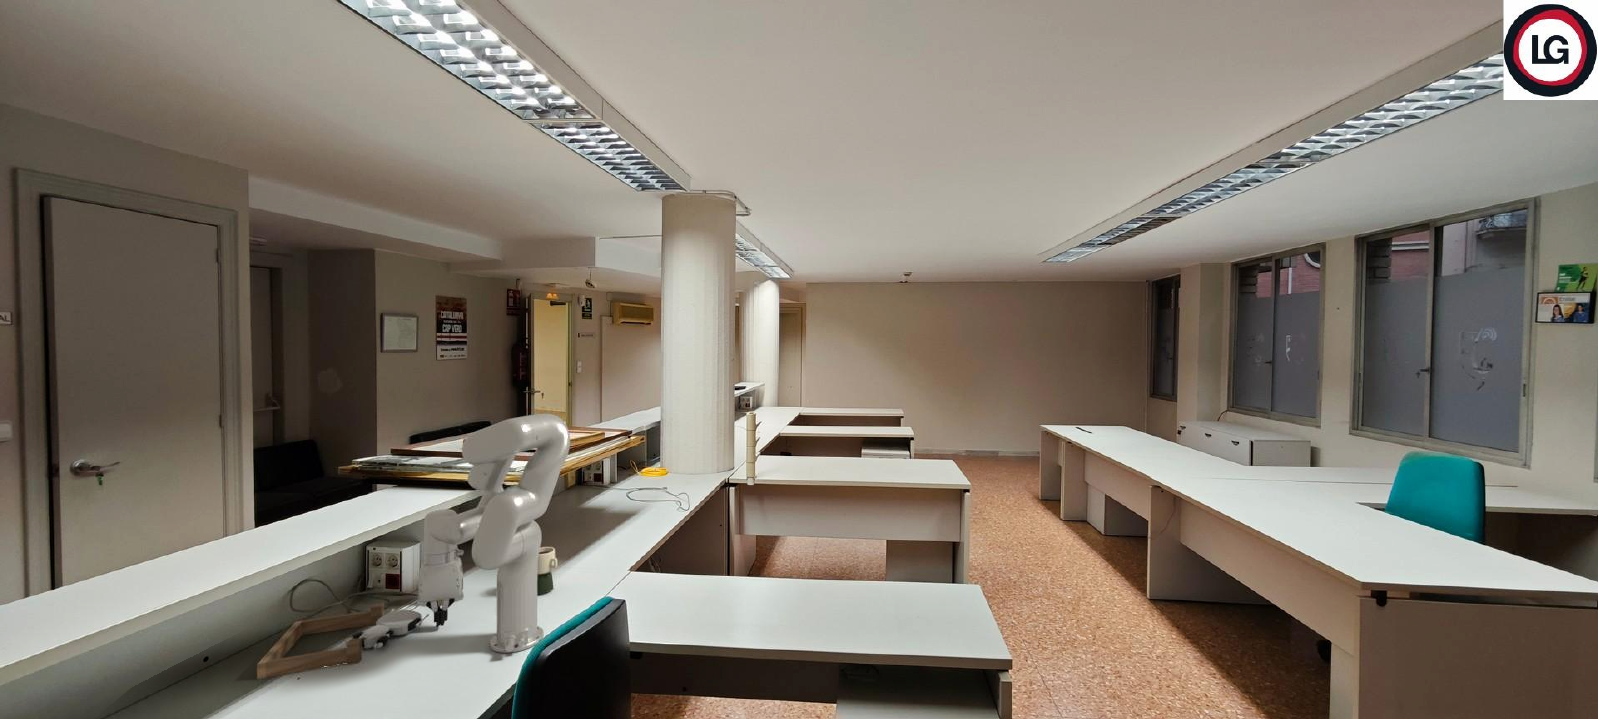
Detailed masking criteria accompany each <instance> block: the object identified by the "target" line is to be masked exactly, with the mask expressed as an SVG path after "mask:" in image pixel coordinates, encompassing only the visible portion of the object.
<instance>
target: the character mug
mask: <svg viewBox="0 0 1598 719" xmlns="http://www.w3.org/2000/svg"><path fill="white" fill-rule="evenodd" d="M557 568H558V558H556V549H555V547H552V546H542V547H541V546H540V550H539V556H538V571H537V595H541V594H546V593H548V592H550V591H553V590H554V580H553V574H552V571H554V570H556V569H557Z"/></svg>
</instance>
